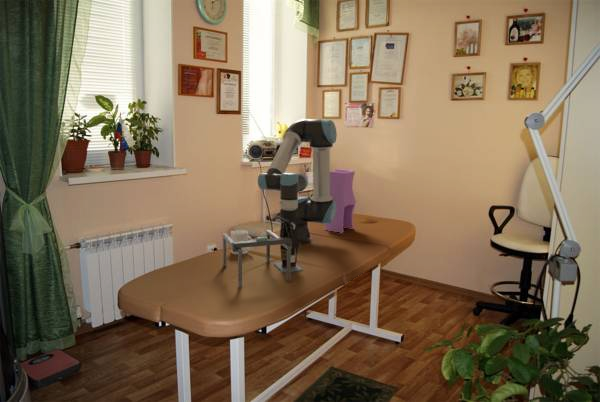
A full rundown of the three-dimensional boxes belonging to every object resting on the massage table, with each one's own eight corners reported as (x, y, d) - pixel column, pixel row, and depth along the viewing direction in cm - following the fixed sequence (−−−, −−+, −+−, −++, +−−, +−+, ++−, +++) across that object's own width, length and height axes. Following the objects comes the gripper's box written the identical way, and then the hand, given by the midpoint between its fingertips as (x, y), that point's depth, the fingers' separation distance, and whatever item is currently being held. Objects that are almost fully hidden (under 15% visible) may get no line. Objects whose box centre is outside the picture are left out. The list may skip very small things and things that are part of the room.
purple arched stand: (334, 226, 295) (336, 169, 288) (354, 229, 287) (356, 170, 280) (322, 230, 283) (323, 170, 277) (342, 233, 276) (344, 172, 269)
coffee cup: (283, 270, 206) (284, 240, 204) (275, 265, 213) (276, 236, 211) (301, 268, 210) (302, 238, 208) (293, 263, 218) (293, 234, 215)
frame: (222, 266, 213) (222, 233, 210) (269, 261, 220) (269, 229, 218) (238, 287, 187) (238, 250, 184) (290, 281, 195) (291, 245, 192)
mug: (257, 252, 235) (258, 232, 233) (248, 257, 227) (248, 235, 225) (237, 249, 240) (237, 229, 238) (227, 253, 233) (227, 232, 231)
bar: (231, 250, 189) (231, 238, 189) (289, 245, 198) (289, 234, 197) (233, 252, 187) (233, 240, 186) (291, 247, 195) (292, 236, 195)
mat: (273, 264, 217) (273, 263, 216) (292, 262, 220) (292, 261, 220) (282, 272, 206) (282, 271, 205) (302, 270, 209) (302, 269, 209)
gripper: (272, 204, 217) (272, 253, 221) (289, 214, 197) (288, 267, 201) (288, 203, 219) (287, 251, 223) (306, 213, 200) (305, 265, 204)
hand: (288, 259), depth 212 cm, fingers open, 9 cm apart
